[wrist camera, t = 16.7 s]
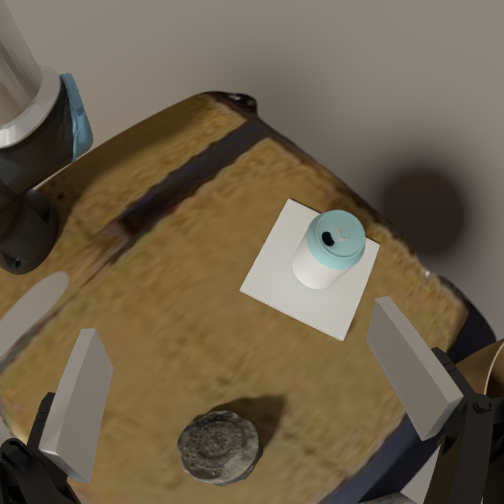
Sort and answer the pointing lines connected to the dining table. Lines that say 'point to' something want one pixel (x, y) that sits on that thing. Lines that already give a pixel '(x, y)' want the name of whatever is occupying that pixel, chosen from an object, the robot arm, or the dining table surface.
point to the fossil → (219, 448)
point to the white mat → (297, 294)
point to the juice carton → (391, 499)
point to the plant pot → (485, 370)
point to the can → (328, 249)
